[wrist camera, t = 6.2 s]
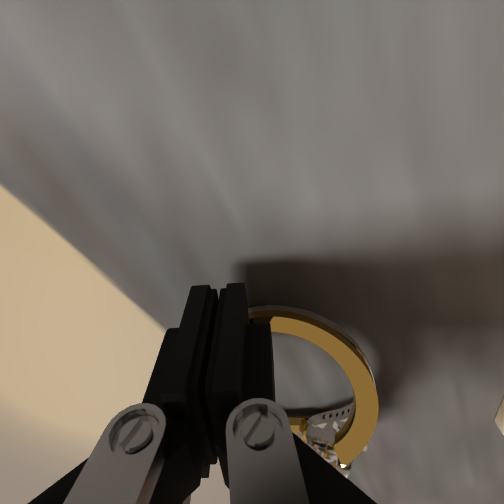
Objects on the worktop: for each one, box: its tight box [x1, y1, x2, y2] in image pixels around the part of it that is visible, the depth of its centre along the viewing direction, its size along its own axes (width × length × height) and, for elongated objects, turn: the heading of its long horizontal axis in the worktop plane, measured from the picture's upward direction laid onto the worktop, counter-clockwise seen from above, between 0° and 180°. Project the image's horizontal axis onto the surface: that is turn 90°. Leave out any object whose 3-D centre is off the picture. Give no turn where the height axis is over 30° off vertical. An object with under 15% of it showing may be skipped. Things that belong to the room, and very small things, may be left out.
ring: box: [248, 305, 379, 478], centre depth 13 cm, size 7×3×8 cm
